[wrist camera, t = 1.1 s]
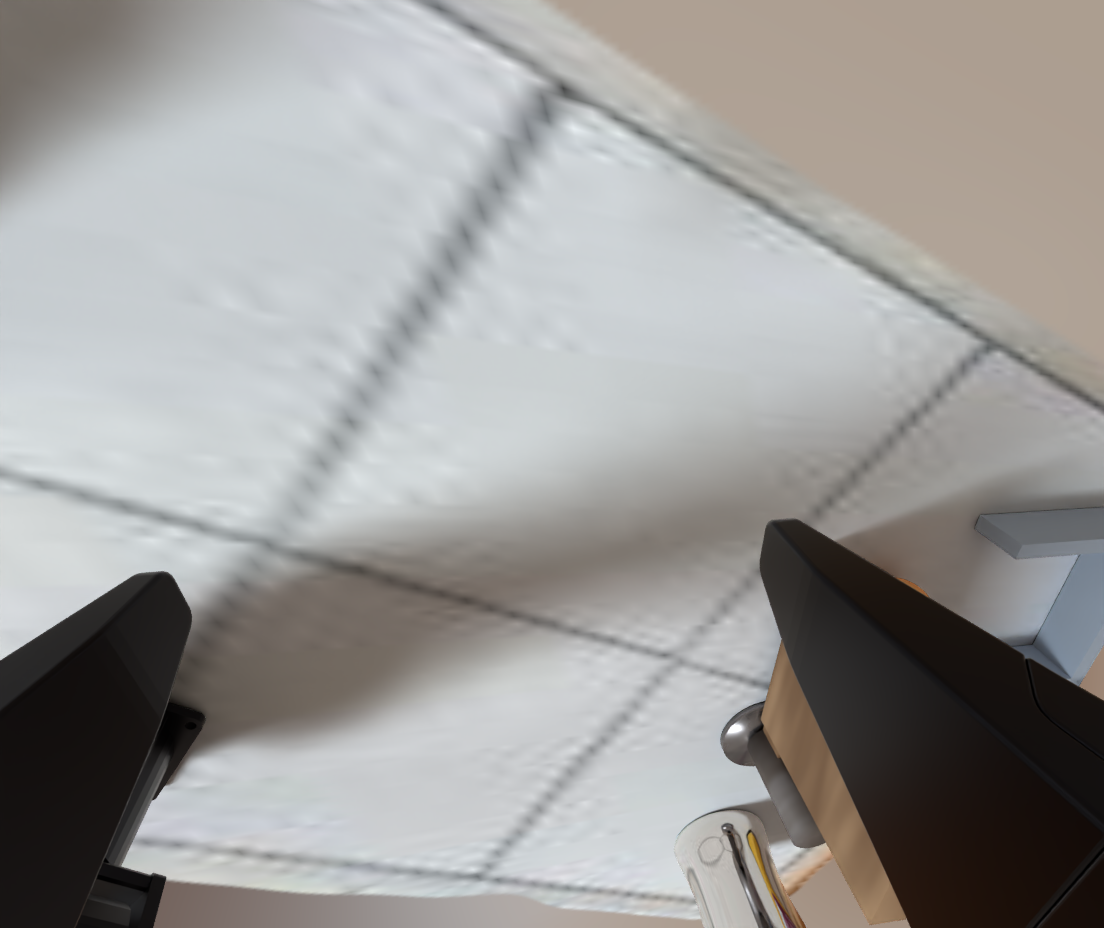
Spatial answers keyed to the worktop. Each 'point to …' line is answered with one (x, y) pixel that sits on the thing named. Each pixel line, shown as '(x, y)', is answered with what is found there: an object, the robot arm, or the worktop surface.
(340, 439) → the worktop surface
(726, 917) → the beer glass
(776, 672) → the brown wooden board
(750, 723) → the base
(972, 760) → the robot arm
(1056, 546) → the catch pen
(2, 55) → the worktop surface
